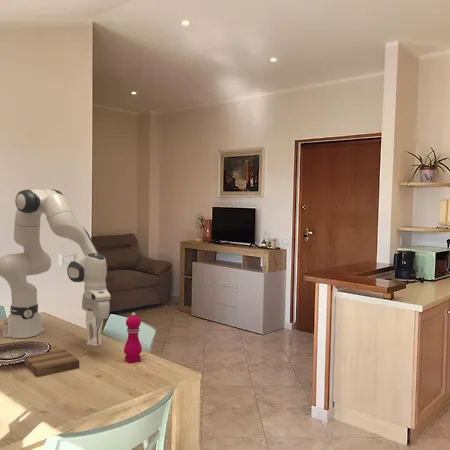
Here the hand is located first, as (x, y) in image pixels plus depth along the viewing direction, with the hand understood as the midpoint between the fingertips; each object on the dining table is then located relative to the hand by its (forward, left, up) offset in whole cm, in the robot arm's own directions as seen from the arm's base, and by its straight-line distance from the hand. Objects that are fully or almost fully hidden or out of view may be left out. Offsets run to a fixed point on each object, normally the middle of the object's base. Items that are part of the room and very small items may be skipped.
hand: (94, 324), depth 197 cm
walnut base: (+3, -19, -13) cm, 23 cm away
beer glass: (0, 0, -9) cm, 9 cm away
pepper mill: (+15, +10, -13) cm, 23 cm away
